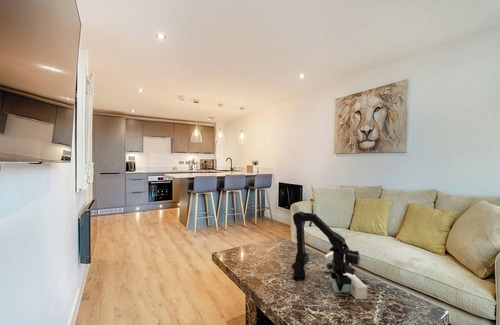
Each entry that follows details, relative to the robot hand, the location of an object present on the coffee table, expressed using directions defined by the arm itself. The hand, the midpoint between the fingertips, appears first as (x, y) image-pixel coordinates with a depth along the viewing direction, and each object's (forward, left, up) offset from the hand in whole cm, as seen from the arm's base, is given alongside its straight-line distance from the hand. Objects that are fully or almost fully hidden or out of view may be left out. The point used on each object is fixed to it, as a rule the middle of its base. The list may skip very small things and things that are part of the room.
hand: (338, 288), depth 125 cm
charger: (+3, 0, -1) cm, 3 cm away
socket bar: (+9, 0, -1) cm, 9 cm away
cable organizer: (+9, +21, -1) cm, 23 cm away
